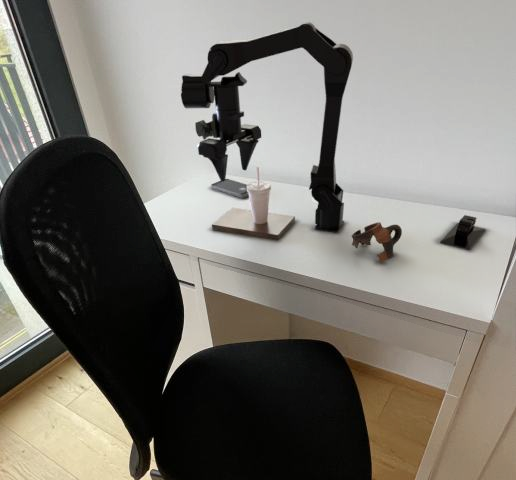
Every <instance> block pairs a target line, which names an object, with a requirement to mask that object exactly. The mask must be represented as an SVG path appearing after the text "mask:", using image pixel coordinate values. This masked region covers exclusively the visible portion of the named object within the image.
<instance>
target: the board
mask: <svg viewBox="0 0 516 480" xmlns="http://www.w3.org/2000/svg"><path fill="white" fill-rule="evenodd" d="M295 222H296V216H295V215H288V214H282V213H275V212H268V219H267V222H266V223H263V224H257V223H255V222H254V219H253V214H252V209H247V208H246V209H245V208H238V207H231V208H229V209H228V210H227V211H226V212H225V213H223V214H222V215H221V216H220V217H219V218H218V219H217V220H215V221H214V222H212V224H211V229H212V230H214V231H219V232H224V233H232V234H238V235H243V236H250V237H256V238H262V239H268V240H274V241H279V240H280V239H281V238H282V237H283V236H284V234H285V233H286V232H287V231H288V230H289V229H290V228H291V227H292V225H293V224H294V223H295Z"/></svg>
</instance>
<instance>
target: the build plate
mask: <svg viewBox="0 0 516 480" xmlns="http://www.w3.org/2000/svg"><path fill="white" fill-rule="evenodd" d="M477 219H478V217H476V216H475V217H474V216H470V215H466V214H464V215H463V216H462V217H461V218H460V219H459V221H458V222H457V223H456V224H455V225H453V227H452V228H451V229H450V230H449V231H448V232H447V233H446V234H445V236H443V238H441V239H440V240H439V243H440V244H443V245H447V246H451V247H455V248H458V249H463V250H466V251H470V250H471V249H472V248H473V246H474V245H475V244H476V243H477V241H478V240H479V239H480V238H481V237H482V236H483V235H484V233H485V232H486V230H487V229H486V228H483V227H479V226H476V222H477Z"/></svg>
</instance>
